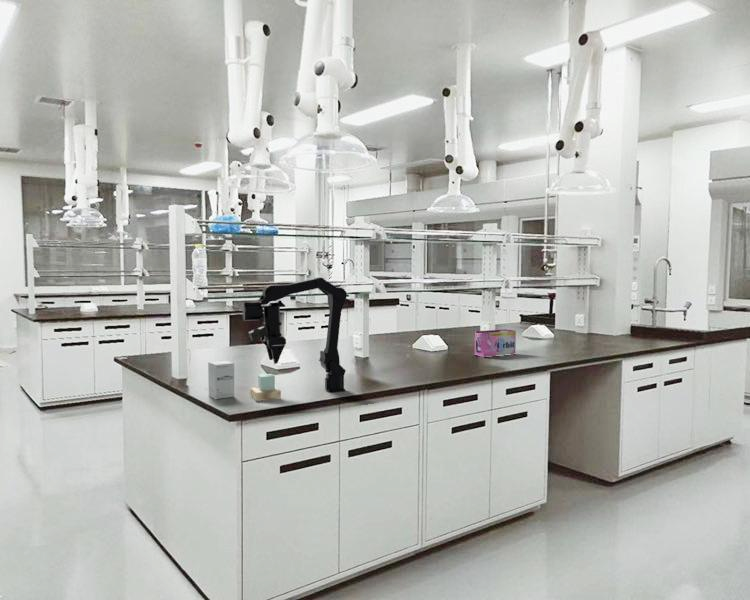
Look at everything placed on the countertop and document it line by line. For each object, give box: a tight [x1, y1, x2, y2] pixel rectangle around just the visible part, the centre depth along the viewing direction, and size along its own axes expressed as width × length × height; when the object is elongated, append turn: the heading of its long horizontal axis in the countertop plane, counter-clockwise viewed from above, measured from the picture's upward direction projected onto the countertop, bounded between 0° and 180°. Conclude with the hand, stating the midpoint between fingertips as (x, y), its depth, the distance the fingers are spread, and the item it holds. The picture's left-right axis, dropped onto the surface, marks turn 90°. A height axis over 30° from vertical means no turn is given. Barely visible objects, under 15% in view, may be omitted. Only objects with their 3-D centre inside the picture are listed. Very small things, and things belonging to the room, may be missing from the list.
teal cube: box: [257, 373, 276, 391], centre depth 201 cm, size 5×5×5 cm
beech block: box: [250, 385, 282, 402], centre depth 201 cm, size 9×9×4 cm
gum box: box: [474, 329, 517, 357], centre depth 299 cm, size 24×8×14 cm, turn 119°
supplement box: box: [207, 360, 235, 400], centre depth 202 cm, size 7×7×13 cm
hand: (273, 361), depth 204 cm, fingers open, 9 cm apart
